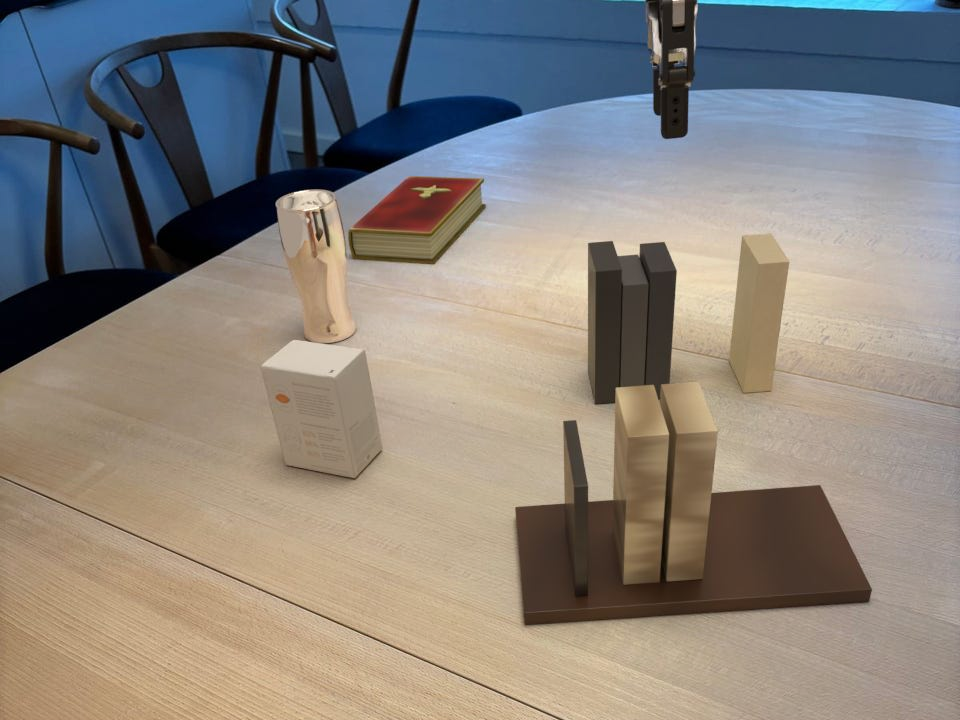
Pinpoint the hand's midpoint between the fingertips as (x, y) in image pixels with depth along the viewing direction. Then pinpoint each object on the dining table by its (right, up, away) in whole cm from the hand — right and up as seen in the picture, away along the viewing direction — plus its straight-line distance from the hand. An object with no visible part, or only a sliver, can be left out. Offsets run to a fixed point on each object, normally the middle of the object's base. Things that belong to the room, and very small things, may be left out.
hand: (669, 125), depth 86 cm
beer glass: (-34, -9, +29) cm, 46 cm away
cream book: (+11, -18, +14) cm, 25 cm away
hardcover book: (-25, +12, +51) cm, 58 cm away
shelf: (-1, -39, -7) cm, 39 cm away
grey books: (-2, -19, +15) cm, 24 cm away
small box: (-31, -28, +8) cm, 42 cm away
